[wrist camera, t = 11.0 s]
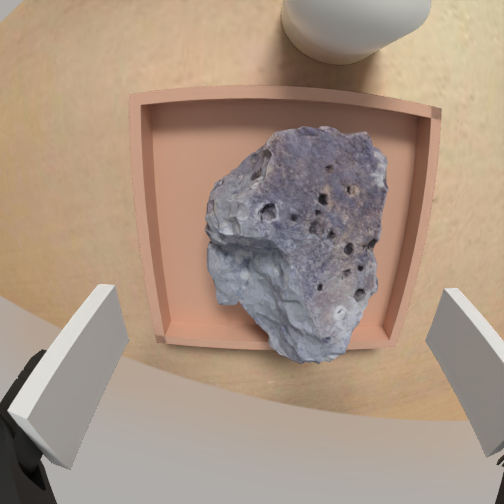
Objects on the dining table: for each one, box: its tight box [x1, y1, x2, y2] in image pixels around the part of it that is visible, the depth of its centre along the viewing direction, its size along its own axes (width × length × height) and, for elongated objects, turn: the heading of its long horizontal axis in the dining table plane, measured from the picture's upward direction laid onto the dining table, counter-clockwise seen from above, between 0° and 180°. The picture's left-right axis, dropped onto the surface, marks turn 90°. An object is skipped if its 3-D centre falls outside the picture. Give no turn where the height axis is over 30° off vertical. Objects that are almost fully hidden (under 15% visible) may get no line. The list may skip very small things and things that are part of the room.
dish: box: [129, 85, 442, 350], centre depth 21 cm, size 20×19×3 cm
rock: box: [205, 126, 389, 364], centre depth 18 cm, size 14×10×10 cm
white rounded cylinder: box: [281, 0, 431, 65], centre depth 12 cm, size 7×7×8 cm
